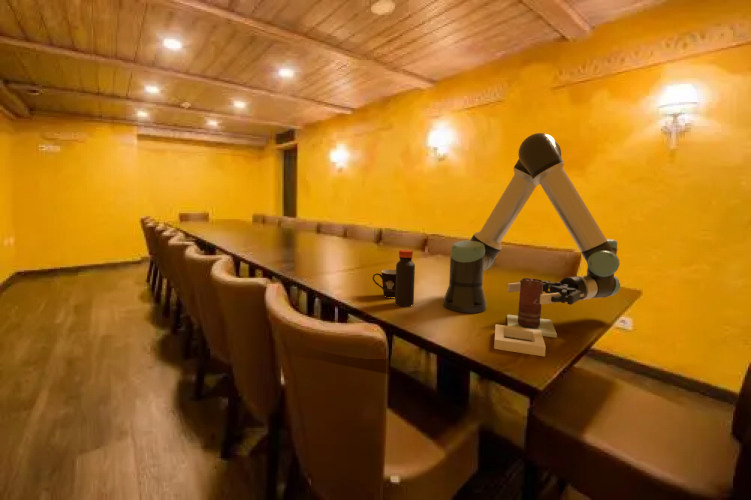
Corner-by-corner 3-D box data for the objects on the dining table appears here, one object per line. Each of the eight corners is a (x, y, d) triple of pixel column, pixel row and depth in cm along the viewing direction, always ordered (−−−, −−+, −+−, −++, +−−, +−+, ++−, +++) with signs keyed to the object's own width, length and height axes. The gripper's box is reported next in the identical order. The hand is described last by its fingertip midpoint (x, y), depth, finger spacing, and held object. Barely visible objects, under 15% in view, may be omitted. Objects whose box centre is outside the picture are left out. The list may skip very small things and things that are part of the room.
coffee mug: (406, 296, 137) (407, 271, 136) (393, 300, 131) (393, 275, 129) (384, 290, 145) (385, 267, 143) (370, 294, 138) (371, 270, 137)
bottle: (411, 308, 122) (413, 252, 119) (393, 305, 124) (394, 251, 121) (415, 302, 128) (417, 250, 125) (397, 300, 130) (399, 248, 128)
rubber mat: (507, 331, 102) (507, 327, 101) (507, 317, 114) (507, 314, 113) (556, 337, 97) (556, 334, 97) (550, 322, 109) (551, 319, 109)
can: (534, 322, 106) (537, 278, 105) (543, 328, 100) (547, 281, 99) (514, 321, 107) (517, 277, 106) (522, 327, 100) (525, 280, 99)
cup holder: (494, 348, 89) (494, 339, 89) (495, 332, 100) (495, 324, 100) (544, 356, 85) (545, 347, 85) (540, 338, 96) (540, 330, 96)
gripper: (613, 311, 99) (556, 318, 92) (545, 289, 122) (495, 294, 115) (616, 286, 98) (559, 291, 91) (547, 269, 121) (497, 272, 114)
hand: (523, 293), depth 103 cm, fingers open, 12 cm apart
